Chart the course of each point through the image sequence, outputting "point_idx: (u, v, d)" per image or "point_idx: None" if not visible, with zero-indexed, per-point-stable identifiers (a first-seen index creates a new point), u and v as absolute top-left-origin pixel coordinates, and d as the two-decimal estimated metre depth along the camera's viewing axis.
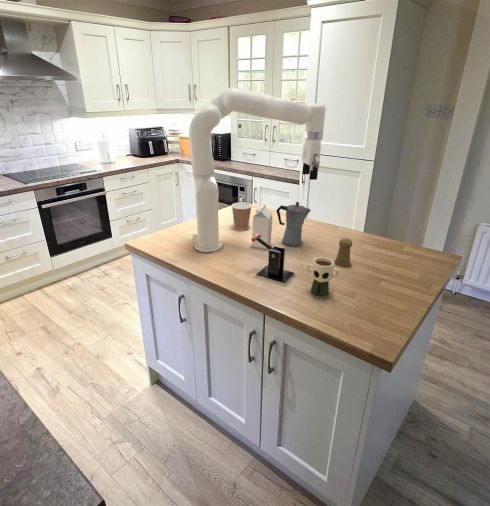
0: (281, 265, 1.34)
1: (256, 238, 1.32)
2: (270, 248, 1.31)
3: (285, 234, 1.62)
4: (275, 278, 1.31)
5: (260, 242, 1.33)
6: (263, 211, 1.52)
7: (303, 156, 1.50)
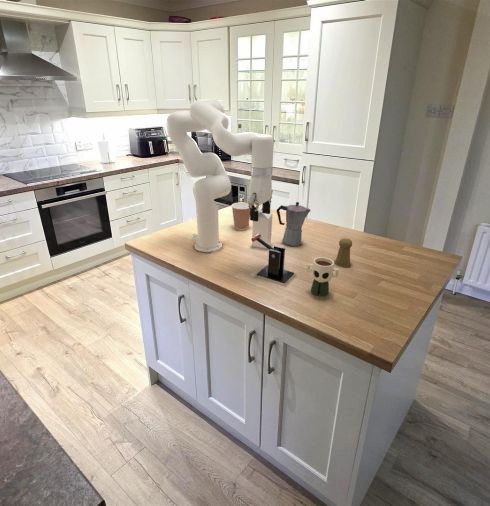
0: (281, 265, 1.34)
1: (256, 238, 1.32)
2: (270, 248, 1.31)
3: (285, 234, 1.62)
4: (275, 278, 1.31)
5: (260, 242, 1.33)
6: None
7: None
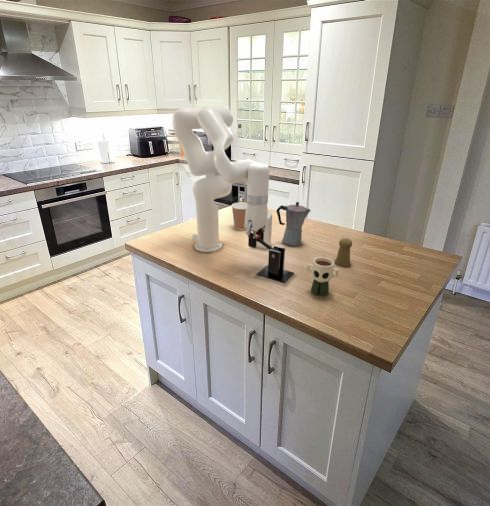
0: (281, 265, 1.34)
1: None
2: (270, 248, 1.31)
3: (285, 234, 1.62)
4: (275, 278, 1.31)
5: (260, 242, 1.33)
6: None
7: None
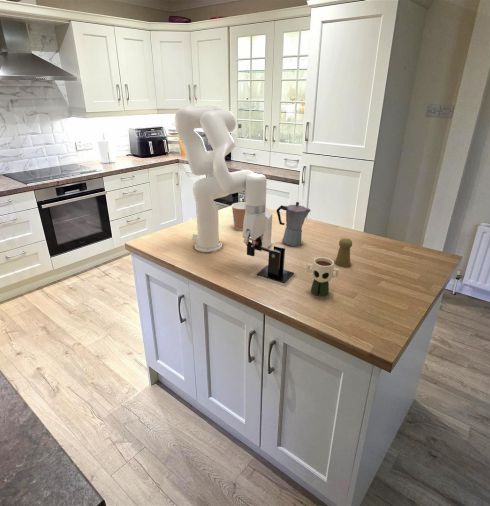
0: (281, 265, 1.34)
1: None
2: None
3: (285, 234, 1.62)
4: (275, 278, 1.31)
5: (258, 248, 1.34)
6: None
7: None
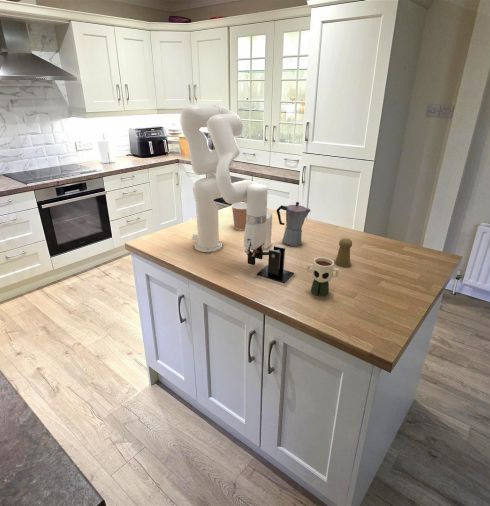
0: (281, 265, 1.34)
1: None
2: None
3: (285, 234, 1.62)
4: (275, 278, 1.31)
5: (259, 254, 1.35)
6: None
7: None
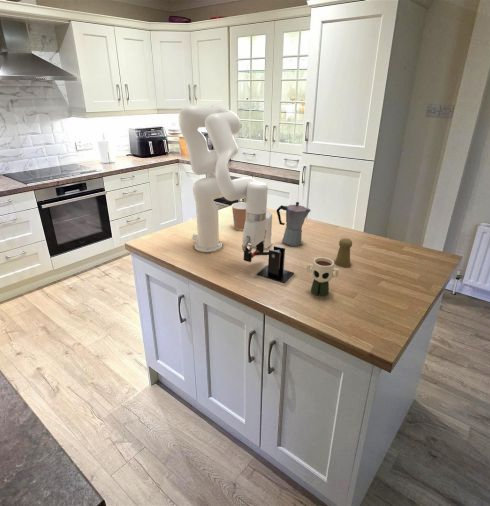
0: (281, 265, 1.34)
1: (253, 253, 1.36)
2: None
3: (285, 234, 1.62)
4: (275, 278, 1.31)
5: (259, 254, 1.35)
6: None
7: None
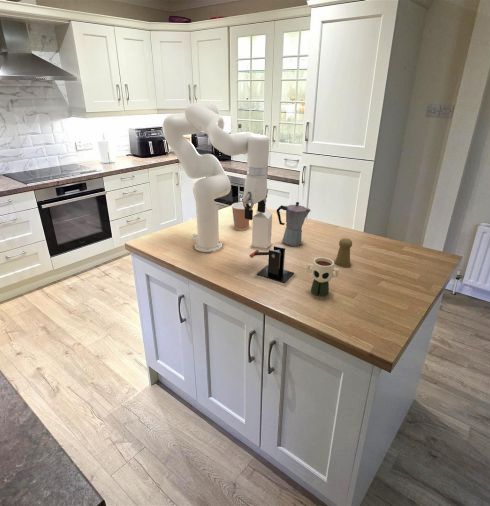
0: (281, 265, 1.34)
1: (253, 253, 1.36)
2: None
3: (285, 234, 1.62)
4: (275, 278, 1.31)
5: (259, 254, 1.35)
6: None
7: None
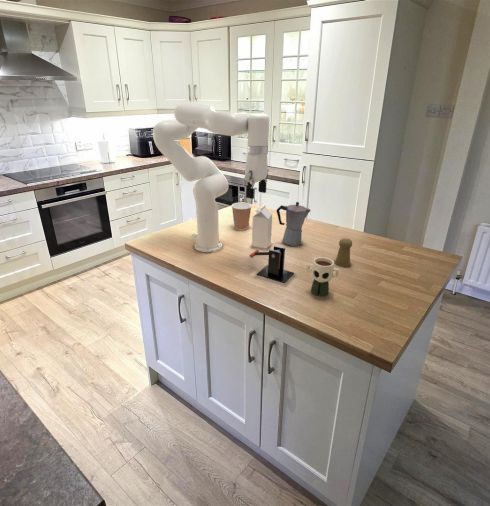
0: (281, 265, 1.34)
1: (253, 253, 1.36)
2: None
3: (285, 234, 1.62)
4: (275, 278, 1.31)
5: (259, 254, 1.35)
6: (263, 211, 1.52)
7: None
